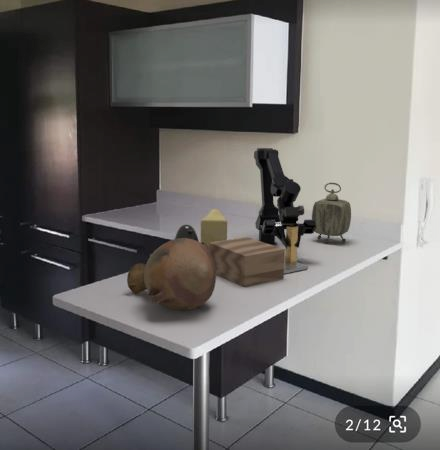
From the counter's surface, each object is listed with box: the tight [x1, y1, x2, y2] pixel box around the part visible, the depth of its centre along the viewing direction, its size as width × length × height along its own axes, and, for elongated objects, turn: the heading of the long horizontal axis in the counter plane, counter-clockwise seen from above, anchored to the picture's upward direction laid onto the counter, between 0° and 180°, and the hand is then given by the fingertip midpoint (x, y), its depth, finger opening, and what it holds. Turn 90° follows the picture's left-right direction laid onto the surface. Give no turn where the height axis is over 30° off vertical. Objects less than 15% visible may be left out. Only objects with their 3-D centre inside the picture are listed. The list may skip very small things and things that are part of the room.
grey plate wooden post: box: [284, 225, 309, 275], centre depth 190 cm, size 26×13×14 cm, turn 125°
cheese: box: [200, 208, 228, 248], centre depth 215 cm, size 22×10×15 cm, turn 179°
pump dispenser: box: [174, 223, 200, 242], centre depth 192 cm, size 10×10×15 cm
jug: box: [126, 238, 217, 311], centre depth 157 cm, size 20×20×30 cm
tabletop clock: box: [311, 182, 352, 244], centre depth 231 cm, size 14×9×25 cm, turn 61°
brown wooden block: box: [209, 236, 286, 288], centre depth 185 cm, size 20×16×10 cm
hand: (292, 247), depth 195 cm, fingers closed on grey plate wooden post, 4 cm apart
